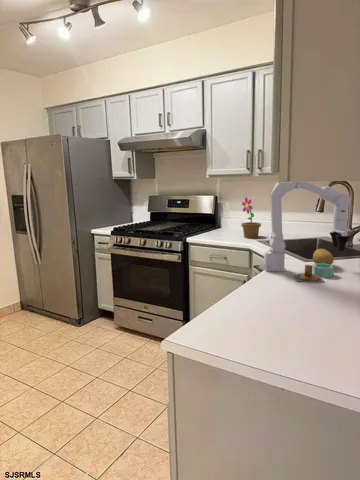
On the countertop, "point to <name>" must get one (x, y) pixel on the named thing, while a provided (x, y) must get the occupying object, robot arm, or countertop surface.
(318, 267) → the bowl
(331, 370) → the countertop surface
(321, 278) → the mat
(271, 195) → the robot arm
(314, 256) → the potato
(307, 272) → the lid
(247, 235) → the flowerpot
